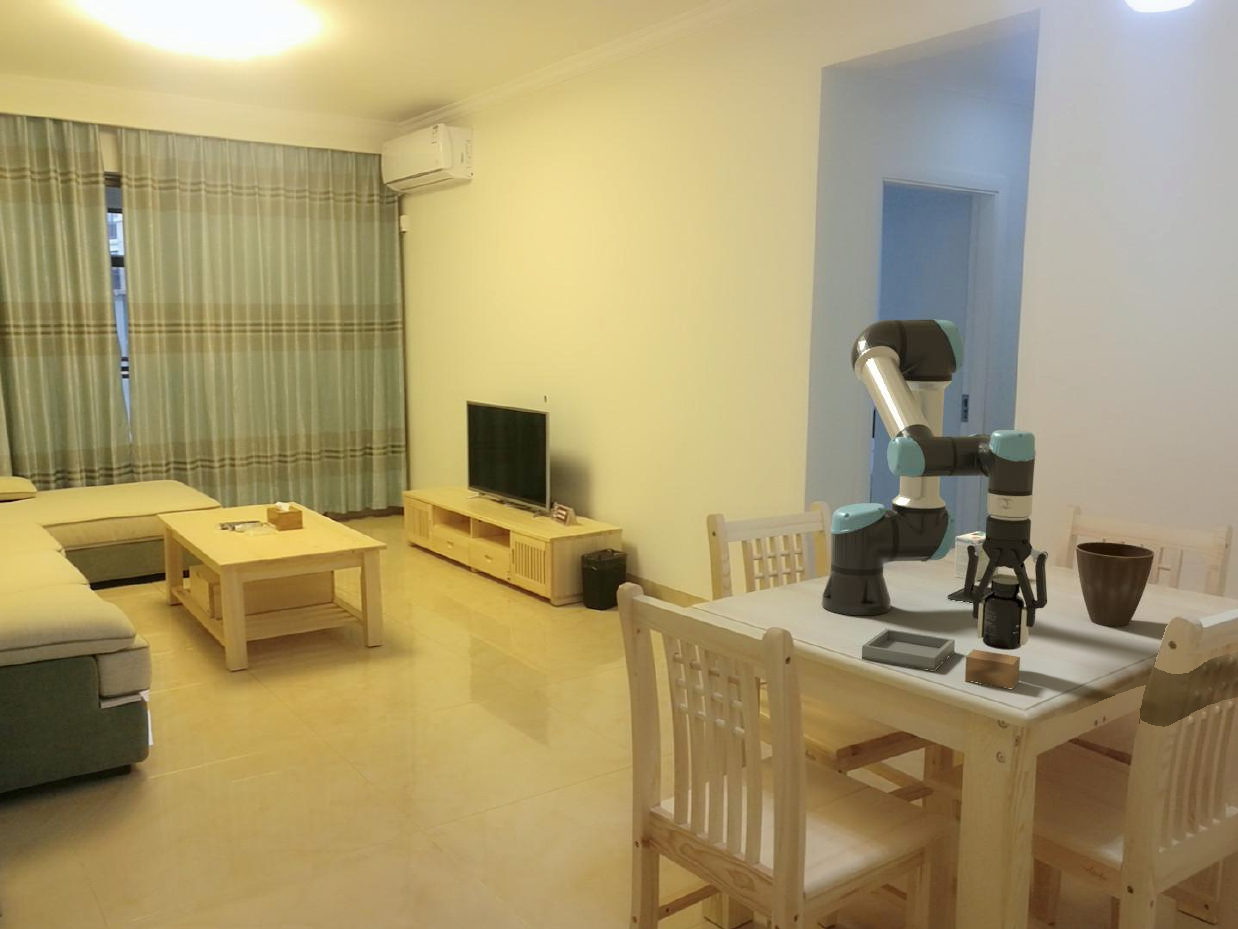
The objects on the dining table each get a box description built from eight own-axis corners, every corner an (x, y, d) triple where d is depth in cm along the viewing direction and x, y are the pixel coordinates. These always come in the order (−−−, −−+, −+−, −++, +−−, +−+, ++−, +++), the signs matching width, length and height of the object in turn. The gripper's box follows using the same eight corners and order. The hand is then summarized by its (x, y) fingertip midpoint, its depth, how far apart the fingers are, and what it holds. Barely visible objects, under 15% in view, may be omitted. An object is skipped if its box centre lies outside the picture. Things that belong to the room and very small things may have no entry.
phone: (945, 596, 232) (971, 584, 243) (945, 601, 232) (971, 588, 243) (979, 602, 226) (1003, 589, 238) (978, 606, 227) (1003, 594, 238)
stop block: (965, 681, 176) (966, 656, 175) (972, 673, 180) (973, 649, 179) (1012, 689, 171) (1013, 664, 171) (1018, 681, 176) (1019, 657, 175)
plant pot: (1153, 619, 214) (1158, 547, 212) (1145, 636, 202) (1149, 559, 200) (1078, 609, 223) (1082, 539, 221) (1066, 625, 210) (1069, 551, 208)
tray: (861, 658, 189) (862, 645, 188) (885, 640, 200) (886, 628, 200) (933, 671, 181) (934, 658, 181) (954, 652, 192) (954, 639, 192)
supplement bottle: (1025, 652, 178) (1029, 587, 176) (985, 649, 179) (988, 585, 177) (1018, 640, 184) (1021, 577, 183) (979, 638, 186) (982, 575, 184)
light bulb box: (975, 570, 261) (977, 530, 259) (999, 575, 256) (1001, 534, 254) (952, 576, 254) (954, 535, 253) (976, 581, 249) (978, 539, 247)
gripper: (947, 514, 181) (942, 635, 184) (1063, 525, 170) (1056, 654, 173) (958, 507, 187) (953, 625, 190) (1071, 518, 176) (1064, 643, 179)
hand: (1002, 639), depth 182 cm, fingers closed on supplement bottle, 7 cm apart
